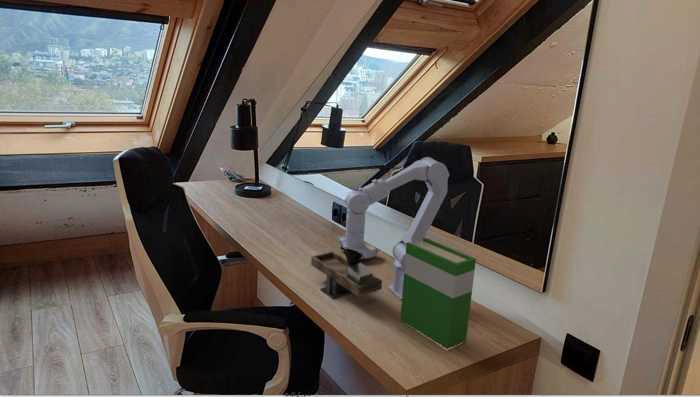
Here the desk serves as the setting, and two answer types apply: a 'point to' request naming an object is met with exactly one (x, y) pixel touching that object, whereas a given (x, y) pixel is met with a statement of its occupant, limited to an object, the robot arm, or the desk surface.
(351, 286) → the wooden rimmed tray
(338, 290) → the pivot stand
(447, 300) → the hardback book
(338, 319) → the desk surface
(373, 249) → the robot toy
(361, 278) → the block
